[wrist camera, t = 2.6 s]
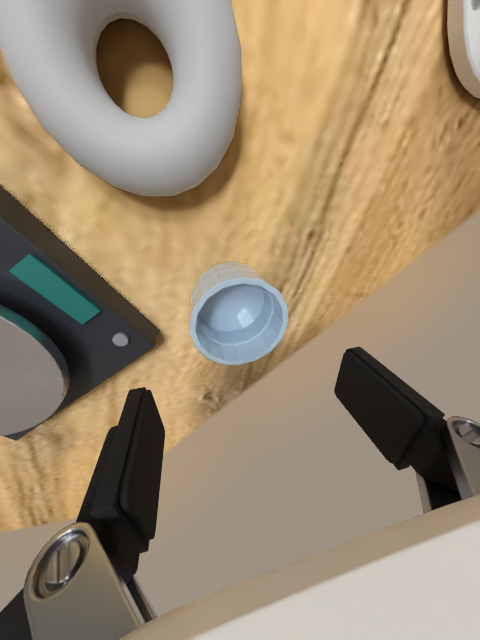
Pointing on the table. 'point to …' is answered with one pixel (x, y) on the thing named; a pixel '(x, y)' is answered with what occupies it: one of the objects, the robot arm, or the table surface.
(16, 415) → the scale pan
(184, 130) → the donut
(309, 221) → the table surface
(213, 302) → the light blue cup
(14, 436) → the scale
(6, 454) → the table surface
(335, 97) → the table surface
